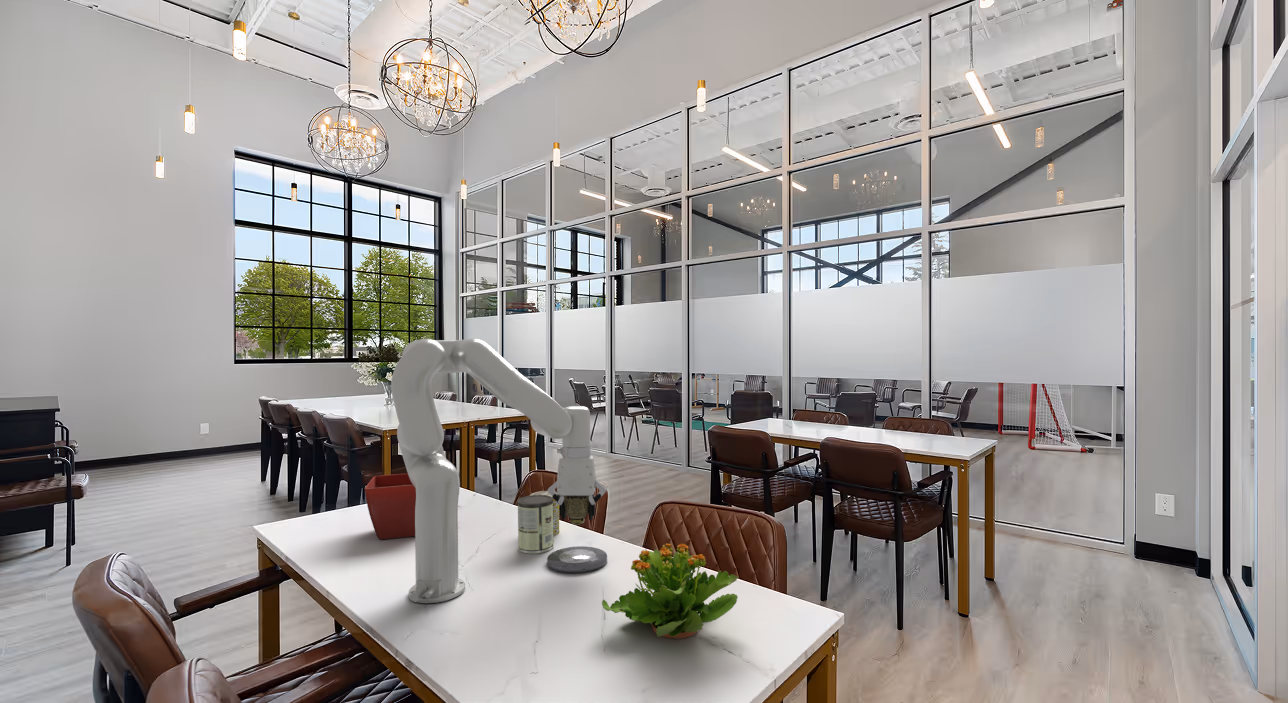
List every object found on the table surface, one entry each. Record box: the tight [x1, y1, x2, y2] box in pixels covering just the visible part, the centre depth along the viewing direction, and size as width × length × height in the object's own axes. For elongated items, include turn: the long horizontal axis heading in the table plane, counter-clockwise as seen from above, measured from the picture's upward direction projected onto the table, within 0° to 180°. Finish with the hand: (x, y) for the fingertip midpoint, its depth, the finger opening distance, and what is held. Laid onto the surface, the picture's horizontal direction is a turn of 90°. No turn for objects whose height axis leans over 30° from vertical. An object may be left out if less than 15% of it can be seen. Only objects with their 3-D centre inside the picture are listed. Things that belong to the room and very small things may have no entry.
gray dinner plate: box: [546, 545, 608, 575], centre depth 152 cm, size 16×16×2 cm
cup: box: [564, 496, 590, 525], centre depth 152 cm, size 8×7×8 cm
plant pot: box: [364, 472, 416, 540], centre depth 179 cm, size 19×19×17 cm
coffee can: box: [517, 495, 555, 555], centre depth 163 cm, size 10×10×14 cm
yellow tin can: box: [529, 490, 560, 537], centre depth 177 cm, size 9×9×12 cm
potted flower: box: [601, 543, 739, 640], centre depth 115 cm, size 25×24×18 cm
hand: (577, 517), depth 152 cm, fingers closed on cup, 6 cm apart
